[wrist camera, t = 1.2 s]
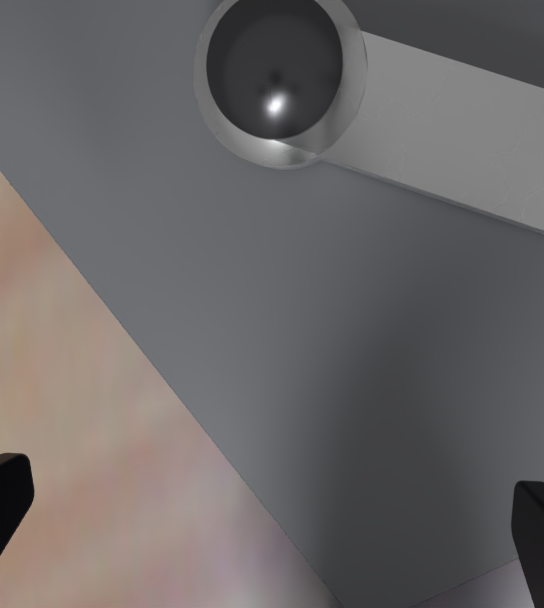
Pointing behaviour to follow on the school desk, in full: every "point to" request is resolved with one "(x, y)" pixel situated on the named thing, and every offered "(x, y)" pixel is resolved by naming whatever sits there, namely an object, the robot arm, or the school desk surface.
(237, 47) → the glossy black ball
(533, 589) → the robot arm
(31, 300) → the school desk surface
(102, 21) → the base plate
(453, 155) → the link
